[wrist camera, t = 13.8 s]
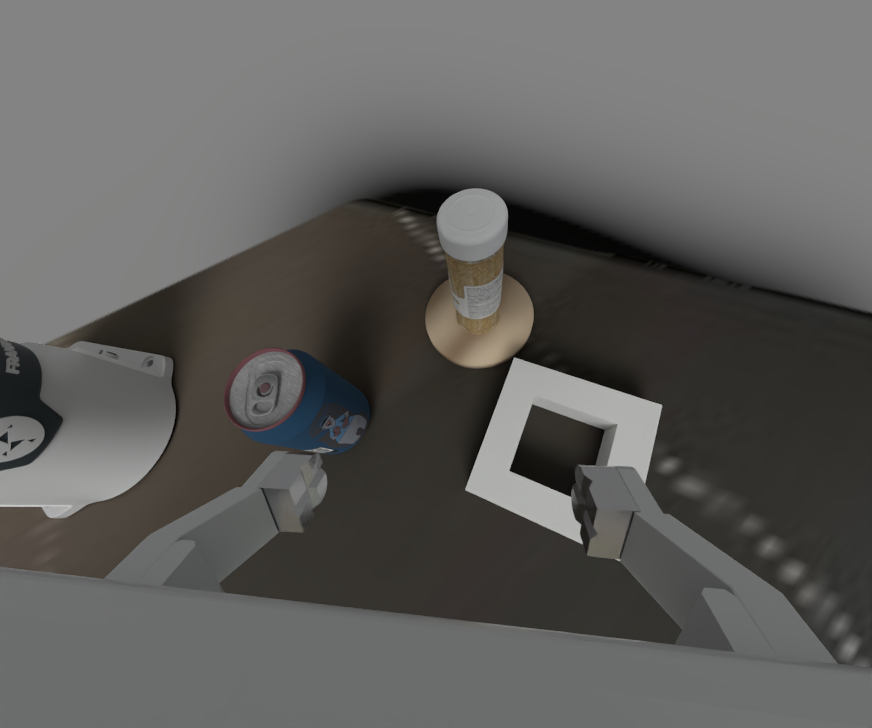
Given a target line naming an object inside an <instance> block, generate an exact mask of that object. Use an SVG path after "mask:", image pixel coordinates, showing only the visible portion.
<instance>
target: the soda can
mask: <svg viewBox="0 0 872 728" xmlns="http://www.w3.org/2000/svg"><path fill="white" fill-rule="evenodd" d="M224 407H225V411H226V414H227V416H228V417H229V419H230V420H231V421H232V423H233V424H235V425H236V426H237V427H239V428H240V429H241V430H242V431H243V432H244V433H245V434H246V435H247V436H248V437H249V438H251V439H253V440H255V441H257V442H260V443H265V444H271V445H277V446H282V447H288V448H294V449H300V450H306V451H312V452H318V453H323V454H339V453H342V452H345V451H347V450H349V449H351V448H352V447H353V446H355V445H356V444H357V443H358V442H359V441H360V440H361V438H362V437H363V436H364V434H365V432H366V430H367V428H368V425H369V420H370V408H369V404H368V401H367V399H366V397H365V395H364V394H363V393H362V392H361V391H360V390H359V389H358V388H357V387H355V386H354V385H352V384H351V383H349V382H348V381H347V380H345V379H344V378H342V377H341V376H339V375H338V374H336V373H335V372H334V371H332V370H331V369H329V368H328V367H326V366H325V365H324V364H322V363H321V362H319V361H318V360H316V359H315V358H314V357H312V356H311V355H309V354H308V353H305V352H303V351H300V350H294V349H281V348H266V349H262V350H259V351H257V352H254V353H253V354H251V355H249V356H248V357H246V358H245V359H244V360H243V361H242V362H240V363H239V364H238V366H237V367H236V368H235V369H234V370H233V372H232V373H231V375H230V377H229V378H228V381H227V383H226V387H225V391H224Z"/></svg>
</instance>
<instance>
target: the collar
mask: <svg viewBox="0 0 872 728" xmlns="http://www.w3.org/2000/svg"><path fill="white" fill-rule="evenodd" d="M532 404H534V405H536V406H539V407H542V408H545V409H547V410H550V411H553V412H556V413H559V414H561V415H564V416H567V417H570V418H573V419H575V420H578V421H581V422H584V423H586V424H589V425H592V426H595V427H598V428H600V429H603V430H605V431H604V435H603V439H602V442H601V446H600V450H599V454H598V457H597V461H596V465H595V466H629V467H633V468H635V469H636V471H637V472H638V474H639V475H640V477H641V479H642V480H643V482H644V483H645V482H646V477H647V472H648V468H649V463H650V459H651V454H652V450H653V445H654V441H655V436H656V431H657V427H658V422H659V418H660V413H661V409H662V405H660V404H657V403H654V402H651V401H648V400H644V399H641V398H638V397H635V396H632V395H629V394H626V393H623V392H620V391H617V390H614V389H610V388H607V387H604V386H601V385H598V384H595V383H592V382H589V381H586V380H583V379H580V378H576V377H573V376H570V375H567V374H564V373H561V372H558V371H555V370H552V369H549V368H546V367H542V366H539V365H536V364H533V363H530V362H527V361H524V360H521V359H518V358H515V357H514V359H513V362H512V365H511V367H510V370H509V373H508V375H507V378H506V381H505V384H504V386H503V389H502V392H501V394H500V397H499V400H498V402H497V405H496V408H495V410H494V413H493V416H492V419H491V421H490V424H489V427H488V429H487V432H486V435H485V437H484V440H483V443H482V445H481V448H480V451H479V454H478V456H477V459H476V462H475V464H474V467H473V470H472V472H471V475H470V478H469V480H468V483H467V486H466V489H465V490H466V491H469V492H471V493H473V494H475V495H477V496H479V497H482V498H484V499H486V500H488V501H490V502H492V503H495V504H497V505H499V506H501V507H503V508H505V509H508V510H510V511H512V512H514V513H516V514H518V515H521V516H523V517H525V518H527V519H529V520H531V521H534V522H536V523H538V524H540V525H542V526H544V527H547V528H549V529H551V530H553V531H555V532H557V533H560V534H562V535H564V536H566V537H568V538H570V539H573V540H575V541H577V542H579V543H581V544H583V542H582V539H581V536H580V529H581V524H580V523H579V522H578V521H576V520H575V517H574V513H573V509H572V502H571V497H569V496H567V495H565V494H562V493H560V492H558V491H555V490H553V489H551V488H548V487H546V486H544V485H541V484H539V483H536V482H534V481H532V480H529V479H527V478H525V477H522V476H520V475H518V474H515V473H513V472H511V471H509V470H510V467H511V464H512V461H513V458H514V455H515V452H516V450H517V447H518V444H519V441H520V438H521V435H522V432H523V429H524V426H525V423H526V420H527V417H528V414H529V411H530V408H531V405H532ZM616 560H618V561H620V559H616Z"/></svg>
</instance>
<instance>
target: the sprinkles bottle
mask: <svg viewBox="0 0 872 728" xmlns="http://www.w3.org/2000/svg"><path fill="white" fill-rule="evenodd" d="M507 227H508V211H507V207H506V204H505V203H504V201H503V200H502V198H500V197H499V196H498V195H497V194H495V193H494V192H492V191H489V190H485V189H479V188H473V189H466V190H463V191H460V192H458V193H456V194H454V195H452V196H450V197H449V198H448V199H447V200H446V201H445V202H444V203H443V204H442V206H441V207H440V209H439V212H438V214H437V229H438V234H439V239H440V243H441V246H442V248H443V249H444V251H445V256H446V261H447V266H448V275H449V281H450V286H451V291H452V297H453V302H454V306H455V309H456V320H457V322H458V324H459V326H460V327H461V328H462V329H463V330H464V331H466V332H468V333H471V334H477V335H480V334H484V333H487V332H489V331H491V330H492V329H494V328H495V327H496V325H497V324H498V322H499V320H500V308H499V307H500V301H501V290H502V277H503V248H504V242H505V239H506V236H507Z"/></svg>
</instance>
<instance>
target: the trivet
mask: <svg viewBox="0 0 872 728" xmlns="http://www.w3.org/2000/svg"><path fill="white" fill-rule="evenodd" d="M499 308H500V320H499V322H498V324H497V325H496V327H495V328H494V329H492V330H491V331H489V332H487V333H484V334H480V335H477V334H471V333H468V332H466V331H464V330H463V329H462V328H461V327H460V326H459V324H458V322H457V320H456V309H455V306H454V302H453V297H452V291H451V286H450V281H449V279H448V280H446V281H445V282H444V283H442V284H441V285H440V286H439V287H438V288H437V289H436V291H435V292H434V293H433V295H432V297H431V298H430V300H429V303H428V305H427V309H426V315H425V323H426V329H427V332H428V335H429V337H430V340H431V342H432V344H433V346H434V347H435V348H436V350H437V351H438V352H439V353H440V354H441V355H442V356H443V357H444V358H446V359H447V360H449V361H450V362H452V363H454V364H456V365H459V366H462V367H466V368H473V369H482V368H490V367H494V366H497V365H500V364H502V363H504V362H506V361H508V360H510V359H511V358H512V357H514V356H515V355H516V354H517V353H518V352H519V351H520V350H521V349H522V348H523V347H524V345H525V343H526V342H527V340H528V338H529V336H530V332H531V329H532V325H533V319H534V310H533V305H532V302H531V299H530V297H529V295H528V293H527V292H526V290H525V289H524V287H523V286H522V285H521V284H520V283H519V282H517V281H516V280H515V279H513V278H512V277H510V276H508V275H506V274H504V273H503V277H502V290H501V301H500V307H499Z"/></svg>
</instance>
